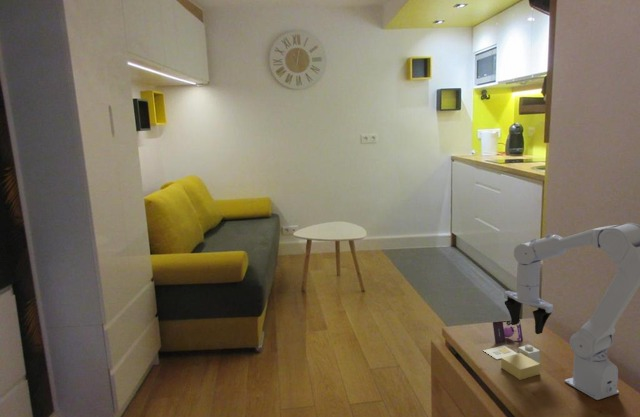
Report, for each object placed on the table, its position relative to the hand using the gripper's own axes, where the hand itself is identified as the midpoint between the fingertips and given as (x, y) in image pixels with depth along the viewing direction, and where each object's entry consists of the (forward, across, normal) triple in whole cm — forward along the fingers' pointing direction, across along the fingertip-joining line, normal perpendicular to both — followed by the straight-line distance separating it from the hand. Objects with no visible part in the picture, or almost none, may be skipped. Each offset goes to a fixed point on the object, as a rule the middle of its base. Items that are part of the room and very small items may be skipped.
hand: (526, 328), depth 131 cm
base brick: (+9, -4, +7) cm, 12 cm away
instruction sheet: (+9, +6, +3) cm, 12 cm away
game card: (+10, +11, -5) cm, 16 cm away
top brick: (+10, -2, +1) cm, 10 cm away
